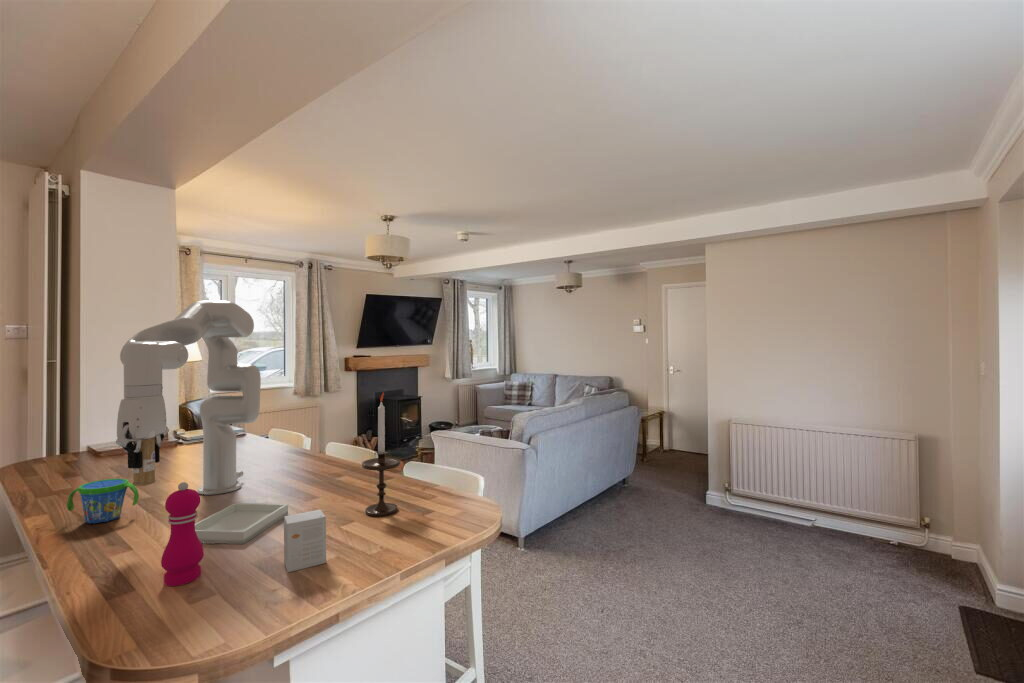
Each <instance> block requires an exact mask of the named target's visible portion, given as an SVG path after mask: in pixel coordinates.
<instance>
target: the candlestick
mask: <svg viewBox="0 0 1024 683" xmlns="http://www.w3.org/2000/svg"><path fill="white" fill-rule="evenodd" d="M384 392H385V391H382V394H381V396H380V398H379V400H380V403H379V406H378V407H377V452H374V455H377V457H375V458H369V459H366V460H363V461H362V463H361V468H362V469H364V470H368V471H377V472H378V483H377V484H376V489H378V492H377V493H376V494H377V495H376V496H378V502H377V503H375V504H370V505H369V506H367V507H366V508H365V511H364V512H365V515H366V516H368V517H373V518H374V517H375V518H379V517H380V518H382V517H387V516H388V517H389V516H392V515H393V514H396V513H397V512H398V505H397V504H395V503H392V502H386V501H385V495H387V494H386V492H385V489H386V488H387V483H385V471H386V470H392V469H395V468H398V467H400V466H401V459H400V458H397V457H388V456H387V457H386V454H389V451H386V450H385V449H386V448H385V447H386V446H385V444H386V442H385V441H386V436H385V435H386V427H385V426H386V425H385V423H386V422H385V420H386V419H385V418H386V415H385V413H386V410H385V406H384V404H383V401H384V400H383V399H384V396H385V393H384Z"/></svg>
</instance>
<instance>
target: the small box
mask: <svg viewBox="0 0 1024 683" xmlns="http://www.w3.org/2000/svg"><path fill="white" fill-rule="evenodd" d="M326 519H327V518H326V515H325V514H324V512H323V511H322V509H316V510H311V511H305V512H300V513H295V514H291V515H289V514H288V515H287V516H284V518H283V551H284V552H283V557H284V558H283V563H284V566H285V569H286V573H292V572H295V571H300V570H303V569H308V568H312V567H316V566H319V565H323V564H326V563H327V536H326V535H327V520H326Z"/></svg>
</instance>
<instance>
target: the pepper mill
mask: <svg viewBox="0 0 1024 683" xmlns="http://www.w3.org/2000/svg"><path fill="white" fill-rule="evenodd" d="M177 489H178V490H174V492H172V493H171V494H169V495H168V496H167V497H166V500H165V505H164V507H165V511H166V512H168V514H169V515H168V516H167V518H168V520H167V523H168V524H170V535H169V538H168V542H167V544H166V546H165V548H164V551H163V553H162V555H161V562H160V563H161V564H160V565H161V567H162V569H163V570H165V571H166V572H164V575H163V583H164V585H165V586H167V587H179V586H182V585H186V584H189V583H192V582H194V581H196V580H198V579H199V578H200V576H201V574H202V566H201V564H200V563H201V561H202V560H203V558H204V554H205V552H204V547H203V543H201V542H200V540H199V538H198V536H197V534H196V531H195V523H196V520H197V519H198V510H197V508H199V506H200V504H201V494H199V493H198V490H195V489H192V488H189V484H188V483H187V482H186V481H184V482H180V483H179V484H178V485H177Z"/></svg>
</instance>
